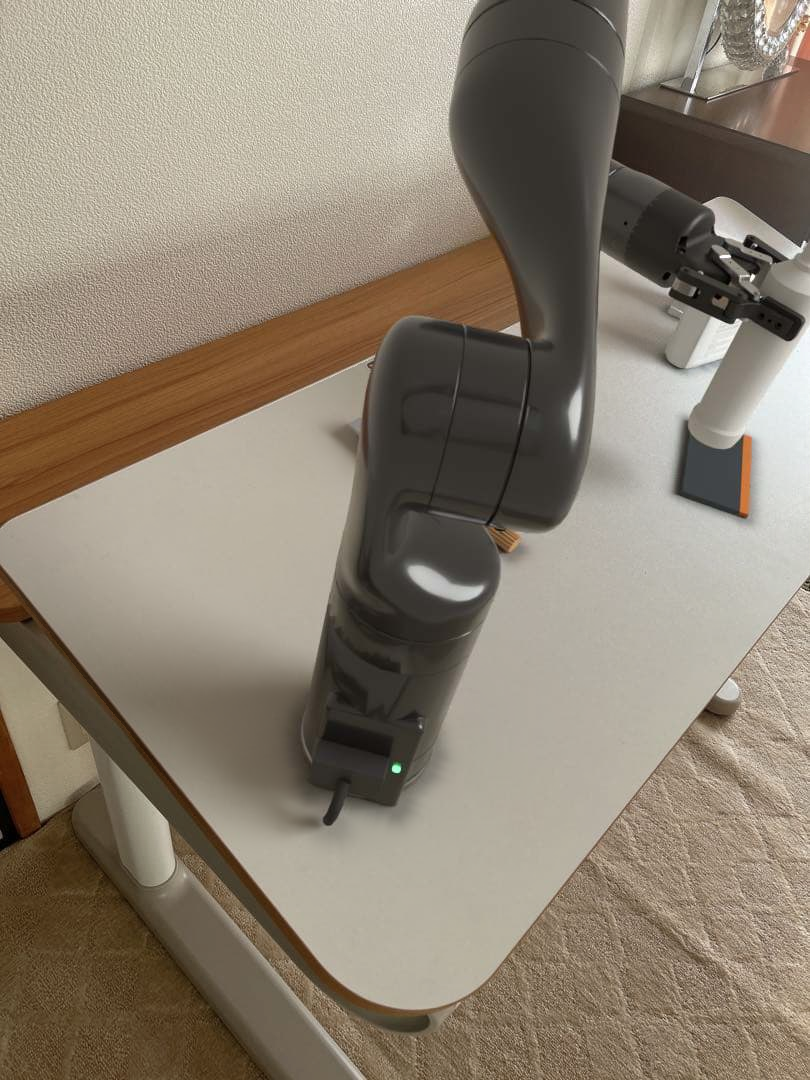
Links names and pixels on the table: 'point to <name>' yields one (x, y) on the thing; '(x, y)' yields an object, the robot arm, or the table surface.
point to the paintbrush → (502, 538)
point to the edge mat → (718, 475)
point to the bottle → (752, 360)
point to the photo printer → (700, 338)
